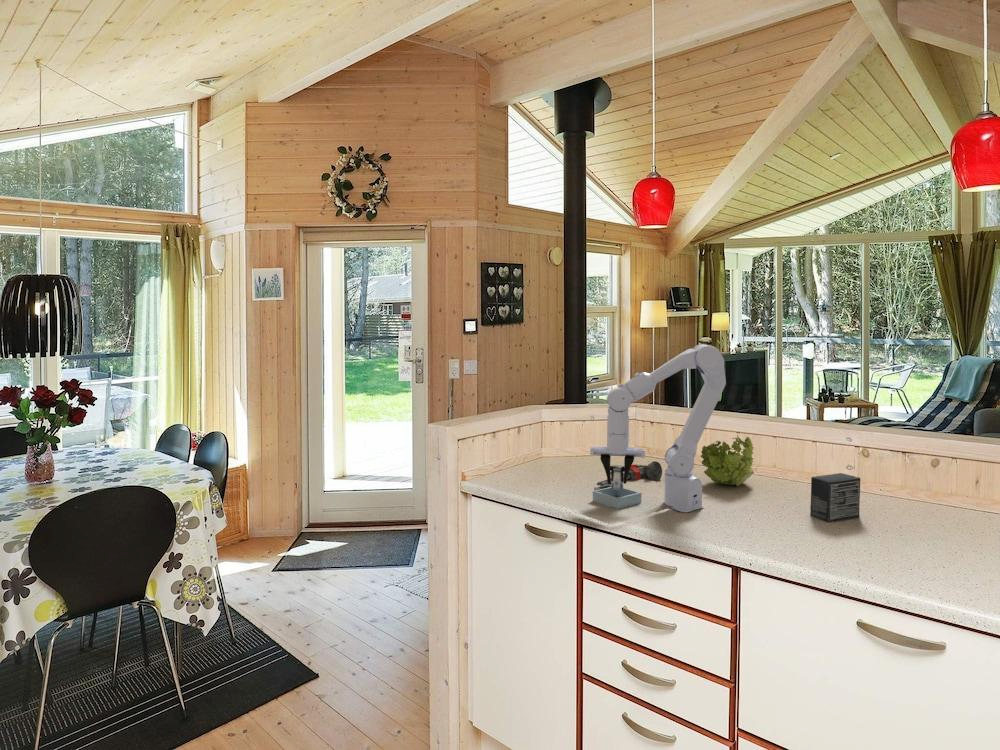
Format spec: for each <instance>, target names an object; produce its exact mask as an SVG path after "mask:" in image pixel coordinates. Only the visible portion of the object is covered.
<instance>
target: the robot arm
mask: <svg viewBox="0 0 1000 750" xmlns="http://www.w3.org/2000/svg"><path fill="white" fill-rule="evenodd" d="M686 369H688V370H689V369H690V370H693V369H697V370H698V371H699V373H700V374H701V375H700V376H701V377H702V380H703V381H704V383H703V385H702V388H701V390H700V392H699V393H698V396H697V398H696V400H695V402H694V404H693V406H692V409H691V411H690V413H689V415H688V417H687V420H686V422H685V424H684V425H683V428H682V430H681V432H680V435H679V436H677V438H676V439H674V442H673V444H672V445H671V446H670V447H669V448H668V449H667V450H665V454H664V461H665V463H666V465H668V466H667V467H666V469H665V470H664V494H663V495H664V496H663V497H664V498H663V499H664V501H663V502H664V505H666V506H669V507H668V509H672V510H675V511H679V512H681V513H690V512H693V511H696V510H700V509H703V508H704V505H703V483H702V481H701V479H700V478H699V477H696V476H695V475H693V474H694V473H693V469H694V466H695V456H696V455H697V449H698V443H699V441H700V440H701V438H702V435H703V433H704V432H705V430H706V427H707V424H708V423H709V421H710V418H711V416H712V415H713V412H714V410H715V408H716V406H717V404H718V402H719V399H720V398H721V396H722V394H723V391H724V389H725V387H726V385H727V381H726V380H727V379H726V371H725V370H726V369H725V359H724V357H723V355H722V353H721V351H720V350H719V348H717V347H716V346H713V345H708V344H707V343H700V344H697V345H694V346H693V348H688V349H686V350H684V351H682V352H681V353H679V354H678V355H676V356H674V357H673V358H671V359H670V360H668V361H666V362H665V363H664V364H662V365H661V366H659V367H657V368H656V369H655V370H653V371H652V372H650V373H648V372H645V371H642V372H640V373H639V372H636V373H635V374H633V376H634V377H632V378H631V379H629V380H627V381H625V382H621V383H619V384H618V386H619V387H614V388H612V389H611V390H609V391H608V393H607V396H606V403H607V404H608V407H607V408H608V409H607V419H606V422H607V423H606V424H607V426H606V435H607V436H606V446H591V447H590V450H589V455H590V456H600V458H599V459H600V461H601V462H600V463H601V464H602V466H603V468H604V471H605V475H606V480H607V481H608V483H610V481H611V473H610V472H611V470H610V466H611V457H624V459H623V460H624V461H623V462H624V465H623V466H624V472H623V473H624V480H623V485H624V484H625V485H626V484H627V481H628V479H627V476H628V472H629V470H630V467H631V465H632V464H634V462H635V458H643V459H645V458H646V449H643V448H634V447H629V440H630V439H629V437H630V436H629V433H630V432H629V431H630V429H629V428H630V416H629V408H630V407H631V404H632V403H635V402H637V401H639V400H641V399H643V398H644V397H646V396H648V395H649V394H651V393H653V392H654V391H655V389H656V386H657V384H658V383H660V382H662V381H663V380H664V381H665V380H666V379H667V378H669V377H671V376H673V375H674V374H675V375H676V373H678V372H680V371H682V370H686Z"/></svg>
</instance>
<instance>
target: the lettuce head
mask: <svg viewBox="0 0 1000 750" xmlns="http://www.w3.org/2000/svg"><path fill="white" fill-rule="evenodd" d="M732 440H733V442H732V445H729V444H727V442H726V441H722V442H721V441H720V440H715V442H713V443H710V444H709V445H707V446H706V445H703V446H702V447H701V454H700V458H701V459H703V460H702V461H701V464H702V466H704V467H706V468H707V469H705V470H704V471H703V473H704V475H706V476H707V477H708V478H709V479H710V480H711V481H712V482H714V483H715V484H719V485H722V484H723V485H728V486H732V485H733V486H736V487H737V488H738V487H740V486H742V484H744V483H745V482H746V481H747V480H748V479H749V478H751V476H752V475H754V473H755V471H754V468H752V466H753V463H754V458H753V457H752V456H753V454H754V452H753V450H754V449H755V448H754V444H753V442H752V439H751V438H750V437H749V436H747V435H746V437H745V439H744V440H742V439H741V438H740V437H739V435H737V437H732ZM734 440H735V441H734ZM721 444H722V445H721ZM730 446H731V447H730ZM741 446H743V448H742V447H741Z"/></svg>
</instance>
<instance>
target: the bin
mask: <svg viewBox="0 0 1000 750" xmlns="http://www.w3.org/2000/svg"><path fill="white" fill-rule="evenodd" d="M592 502H594V503H598V504H601V505H604V506H607V507H611V508H614V509H617V510H619V509H622V508H625V507H630V506H634V505H637V504H641V503H642V492H640V491H636V490H632V489H630V488H626V487H623V489H621V490H614V489H611V487H608V488H604V489H600V490H596V491H594V490H592Z"/></svg>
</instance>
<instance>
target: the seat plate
mask: <svg viewBox="0 0 1000 750" xmlns="http://www.w3.org/2000/svg"><path fill="white" fill-rule="evenodd" d="M608 487H611V484H610V485H604V486H601V485H599V486H597V487H596V486H595V487H593V491H596V490H600V489H604V488H608Z"/></svg>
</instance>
